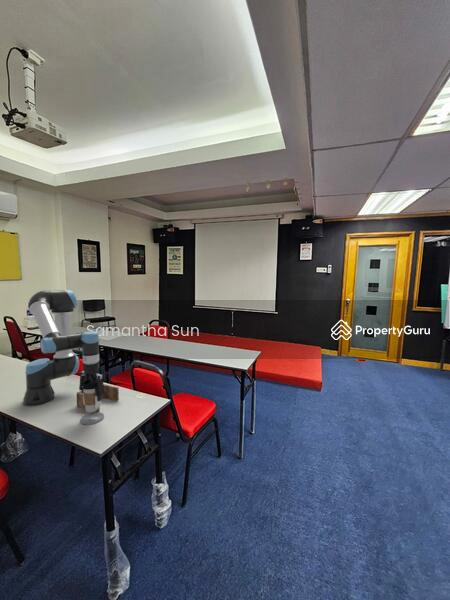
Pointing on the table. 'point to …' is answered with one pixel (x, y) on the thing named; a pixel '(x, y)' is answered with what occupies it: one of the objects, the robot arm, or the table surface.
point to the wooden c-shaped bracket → (109, 393)
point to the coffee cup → (89, 396)
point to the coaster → (92, 418)
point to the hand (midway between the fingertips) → (92, 405)
